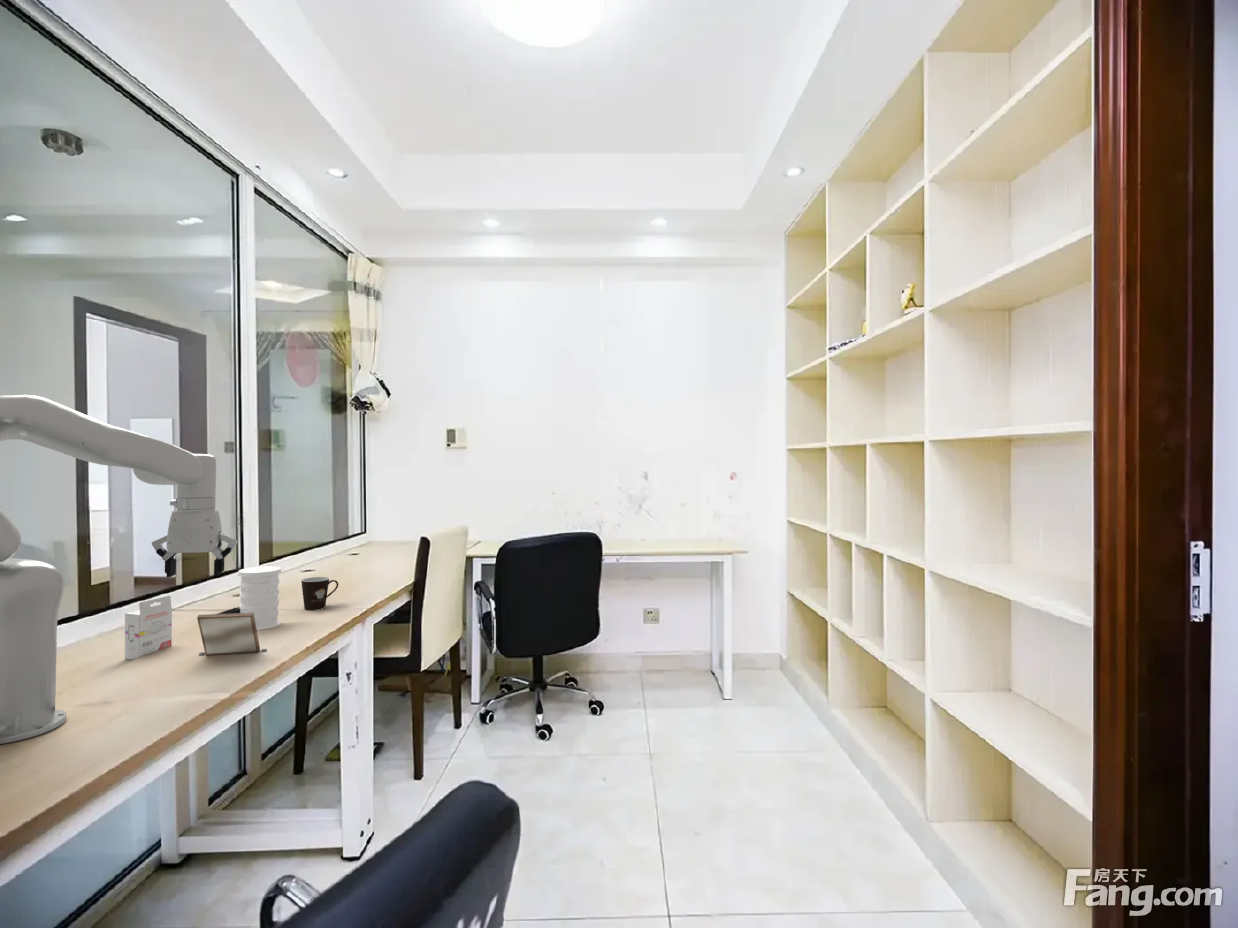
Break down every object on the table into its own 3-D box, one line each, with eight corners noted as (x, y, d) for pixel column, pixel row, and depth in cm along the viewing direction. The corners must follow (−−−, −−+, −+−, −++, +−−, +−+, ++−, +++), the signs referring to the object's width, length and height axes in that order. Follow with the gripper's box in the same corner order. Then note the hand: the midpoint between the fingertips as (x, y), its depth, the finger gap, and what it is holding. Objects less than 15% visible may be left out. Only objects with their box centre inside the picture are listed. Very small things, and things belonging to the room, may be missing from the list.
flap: (252, 615, 141) (253, 612, 142) (196, 617, 138) (198, 614, 139) (259, 654, 146) (260, 651, 147) (205, 657, 143) (207, 654, 144)
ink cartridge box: (156, 648, 151) (158, 593, 151) (172, 650, 150) (173, 594, 150) (123, 659, 143) (124, 601, 143) (138, 660, 142) (140, 602, 142)
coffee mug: (300, 612, 190) (301, 582, 190) (300, 606, 198) (301, 578, 198) (338, 608, 196) (339, 579, 196) (337, 603, 203) (338, 575, 203)
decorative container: (257, 636, 164) (258, 574, 164) (226, 632, 167) (227, 571, 167) (290, 625, 175) (291, 567, 175) (260, 622, 178) (261, 565, 178)
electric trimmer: (206, 624, 176) (206, 614, 176) (244, 611, 191) (245, 601, 191) (217, 625, 176) (217, 615, 176) (255, 611, 191) (255, 602, 191)
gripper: (145, 506, 130) (143, 579, 130) (232, 505, 135) (230, 576, 135) (161, 503, 138) (159, 573, 137) (242, 503, 143) (241, 571, 143)
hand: (194, 575), depth 136 cm, fingers open, 9 cm apart
